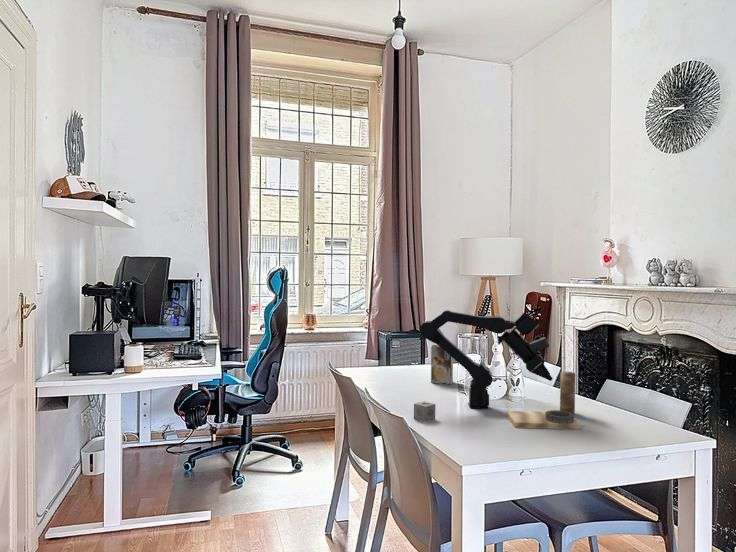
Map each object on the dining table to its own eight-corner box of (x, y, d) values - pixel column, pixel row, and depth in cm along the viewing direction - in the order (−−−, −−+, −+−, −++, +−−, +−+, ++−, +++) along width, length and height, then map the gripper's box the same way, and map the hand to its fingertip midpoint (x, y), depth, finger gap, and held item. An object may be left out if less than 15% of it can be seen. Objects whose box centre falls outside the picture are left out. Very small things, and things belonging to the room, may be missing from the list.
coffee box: (453, 381, 233) (453, 345, 233) (451, 384, 227) (451, 347, 227) (432, 380, 236) (433, 344, 236) (430, 383, 230) (430, 346, 229)
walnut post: (562, 414, 180) (562, 373, 180) (558, 410, 185) (558, 371, 185) (576, 415, 180) (577, 374, 180) (572, 411, 185) (572, 371, 185)
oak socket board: (514, 427, 165) (515, 416, 165) (506, 415, 179) (506, 404, 179) (580, 429, 163) (580, 418, 163) (566, 417, 177) (566, 406, 177)
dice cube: (435, 419, 173) (435, 404, 173) (425, 422, 170) (425, 406, 169) (423, 416, 177) (423, 401, 177) (413, 418, 173) (413, 403, 173)
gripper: (536, 332, 176) (571, 366, 173) (533, 326, 194) (564, 357, 192) (512, 354, 178) (546, 388, 175) (511, 347, 196) (541, 378, 193)
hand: (550, 377), depth 184 cm, fingers open, 9 cm apart
